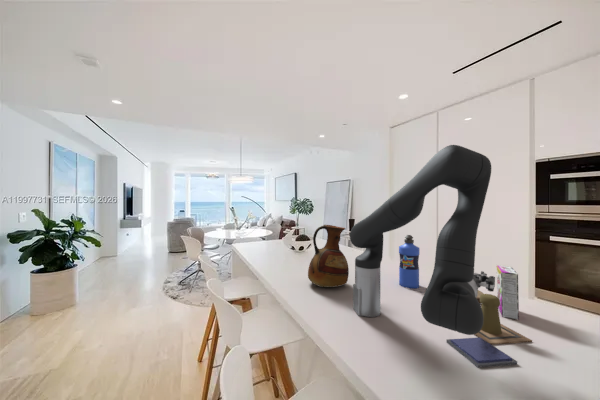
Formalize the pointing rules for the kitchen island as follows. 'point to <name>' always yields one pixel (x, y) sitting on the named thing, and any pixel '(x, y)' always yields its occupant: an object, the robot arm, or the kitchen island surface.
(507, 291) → the candy bar box
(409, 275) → the water bottle
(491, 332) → the cork
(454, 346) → the ink pad
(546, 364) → the kitchen island surface
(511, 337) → the marked board
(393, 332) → the kitchen island surface
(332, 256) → the ceramic pitcher
